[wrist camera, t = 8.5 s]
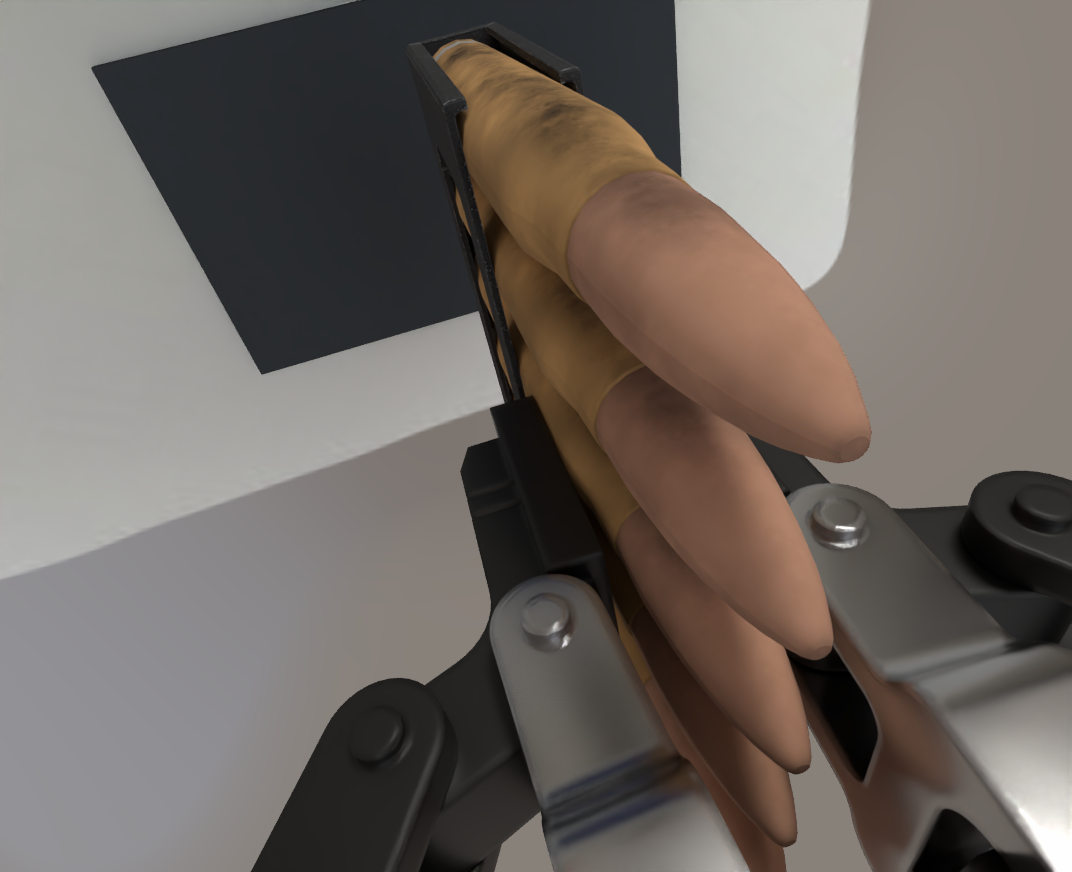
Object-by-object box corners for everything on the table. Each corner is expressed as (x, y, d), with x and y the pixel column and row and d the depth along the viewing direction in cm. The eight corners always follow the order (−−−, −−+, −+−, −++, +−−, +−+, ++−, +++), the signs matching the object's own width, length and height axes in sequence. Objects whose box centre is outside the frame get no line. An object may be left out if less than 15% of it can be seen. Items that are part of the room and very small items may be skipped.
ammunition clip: (582, 445, 18) (830, 929, 9) (522, 464, 18) (712, 977, 9) (498, 20, 12) (1104, 200, 2) (403, 45, 12) (661, 335, 2)
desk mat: (262, 370, 28) (261, 375, 28) (93, 66, 20) (90, 67, 20) (681, 247, 29) (684, 250, 29) (667, -76, 22) (671, -77, 22)
